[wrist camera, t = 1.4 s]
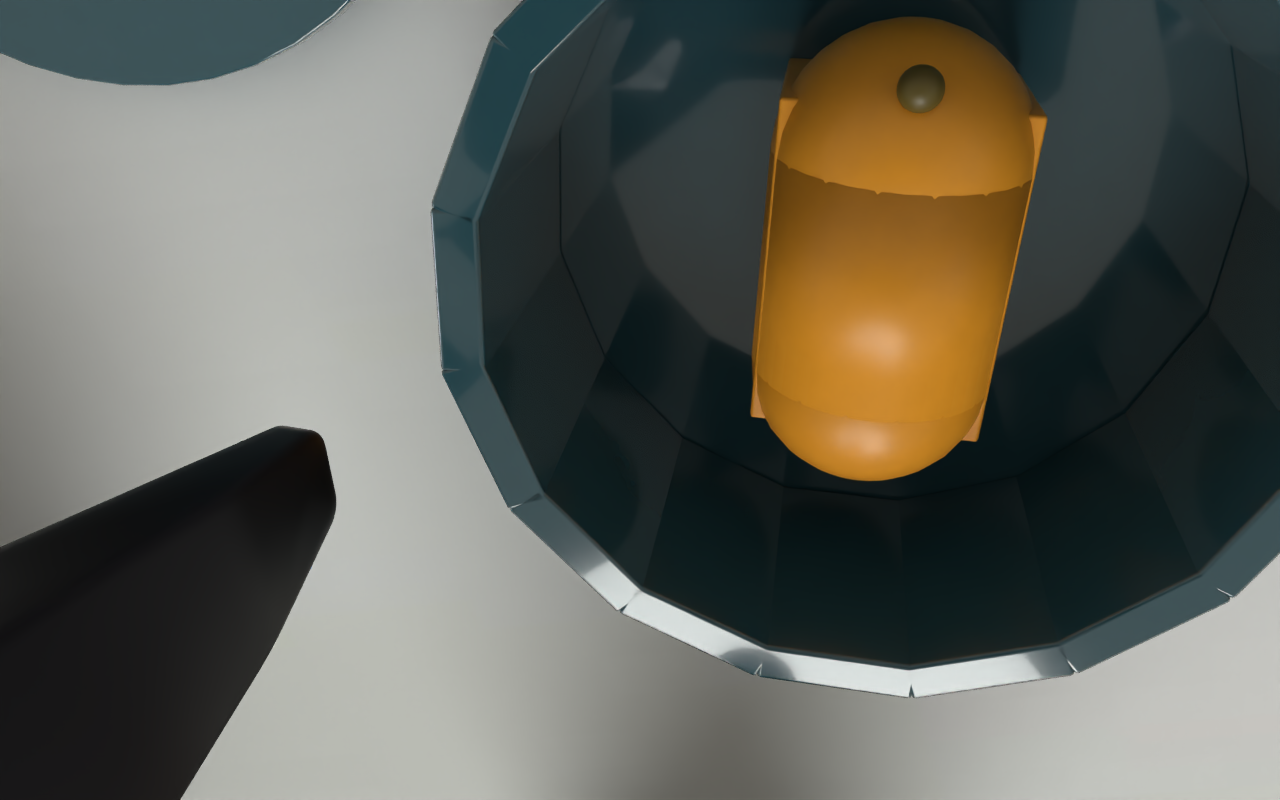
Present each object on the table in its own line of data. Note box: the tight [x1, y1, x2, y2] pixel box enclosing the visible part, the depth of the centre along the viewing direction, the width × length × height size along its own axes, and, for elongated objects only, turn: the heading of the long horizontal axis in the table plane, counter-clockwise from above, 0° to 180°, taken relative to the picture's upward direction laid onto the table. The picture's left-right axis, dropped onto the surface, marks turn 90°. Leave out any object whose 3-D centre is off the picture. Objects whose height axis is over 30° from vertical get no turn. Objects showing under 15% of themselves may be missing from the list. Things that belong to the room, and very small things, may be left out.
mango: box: [750, 17, 1048, 481], centre depth 19 cm, size 8×4×5 cm, turn 178°
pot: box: [431, 0, 1280, 698], centre depth 19 cm, size 15×15×6 cm
